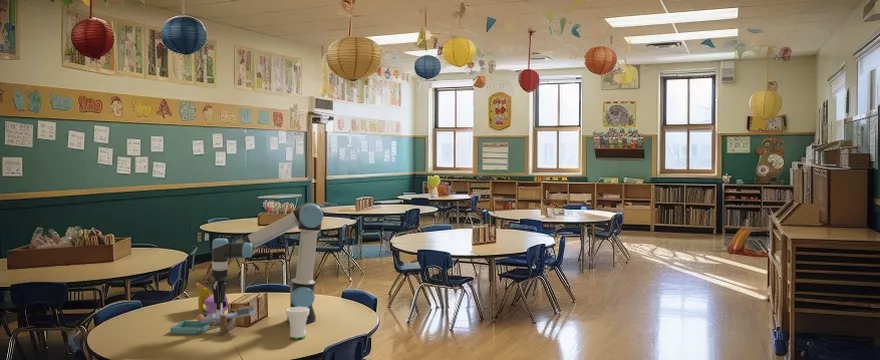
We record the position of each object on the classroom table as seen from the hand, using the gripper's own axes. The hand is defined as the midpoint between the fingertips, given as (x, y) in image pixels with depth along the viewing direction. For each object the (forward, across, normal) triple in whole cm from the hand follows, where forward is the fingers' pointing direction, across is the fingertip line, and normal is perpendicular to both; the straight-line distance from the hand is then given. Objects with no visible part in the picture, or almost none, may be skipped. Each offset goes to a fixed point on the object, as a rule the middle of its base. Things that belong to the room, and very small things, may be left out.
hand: (219, 315), depth 346 cm
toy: (+9, -18, -8) cm, 22 cm away
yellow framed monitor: (+9, -37, -25) cm, 46 cm away
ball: (+2, 0, -10) cm, 10 cm away
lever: (0, 0, +5) cm, 5 cm away
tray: (+9, 0, -15) cm, 17 cm away
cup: (+8, +6, +43) cm, 44 cm away
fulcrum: (+8, 0, +5) cm, 10 cm away
